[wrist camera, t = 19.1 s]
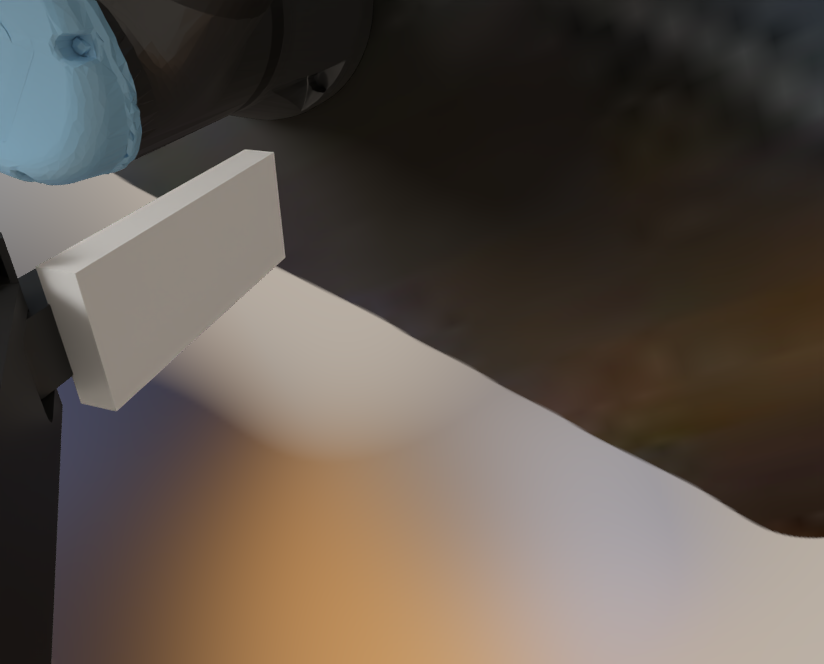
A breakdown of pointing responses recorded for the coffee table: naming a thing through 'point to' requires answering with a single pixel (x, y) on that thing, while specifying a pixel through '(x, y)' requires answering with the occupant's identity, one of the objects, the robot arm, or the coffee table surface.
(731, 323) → the coffee table surface
